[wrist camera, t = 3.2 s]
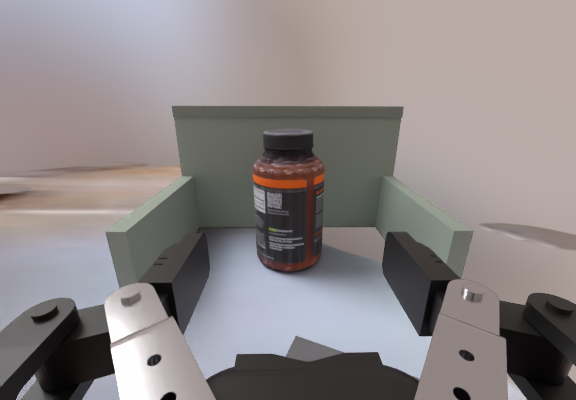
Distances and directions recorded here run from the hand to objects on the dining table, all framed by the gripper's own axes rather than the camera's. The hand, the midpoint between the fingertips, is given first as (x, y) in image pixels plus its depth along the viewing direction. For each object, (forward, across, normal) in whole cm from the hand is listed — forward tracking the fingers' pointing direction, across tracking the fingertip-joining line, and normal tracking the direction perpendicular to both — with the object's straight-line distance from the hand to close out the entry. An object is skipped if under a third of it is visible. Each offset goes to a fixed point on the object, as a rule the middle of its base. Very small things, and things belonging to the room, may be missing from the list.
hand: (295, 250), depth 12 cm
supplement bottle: (+11, 0, +7) cm, 13 cm away
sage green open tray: (+11, 0, +7) cm, 13 cm away
